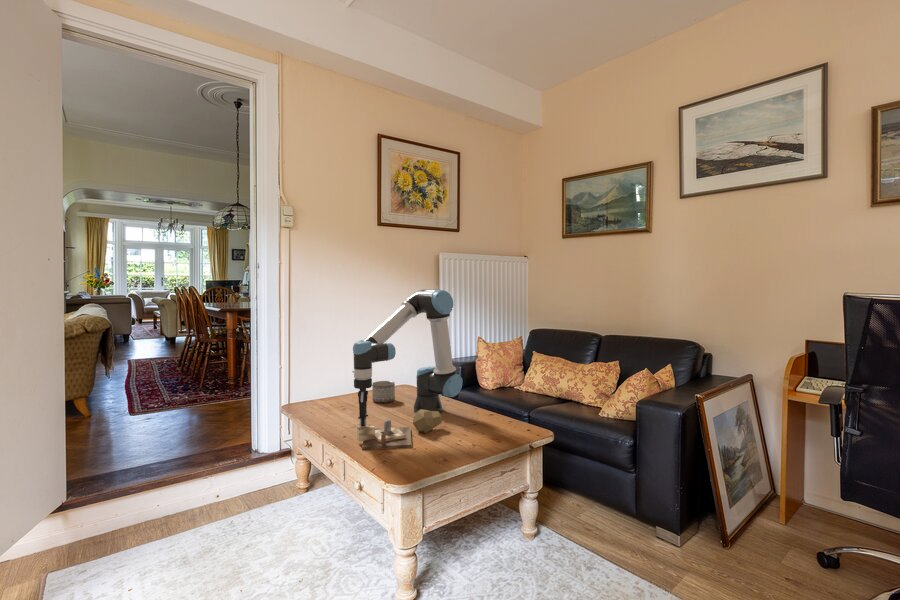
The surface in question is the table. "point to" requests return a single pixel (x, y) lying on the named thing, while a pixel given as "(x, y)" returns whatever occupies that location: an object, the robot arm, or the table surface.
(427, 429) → the low-poly potato
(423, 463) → the table surface
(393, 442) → the post board
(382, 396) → the planter
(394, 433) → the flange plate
